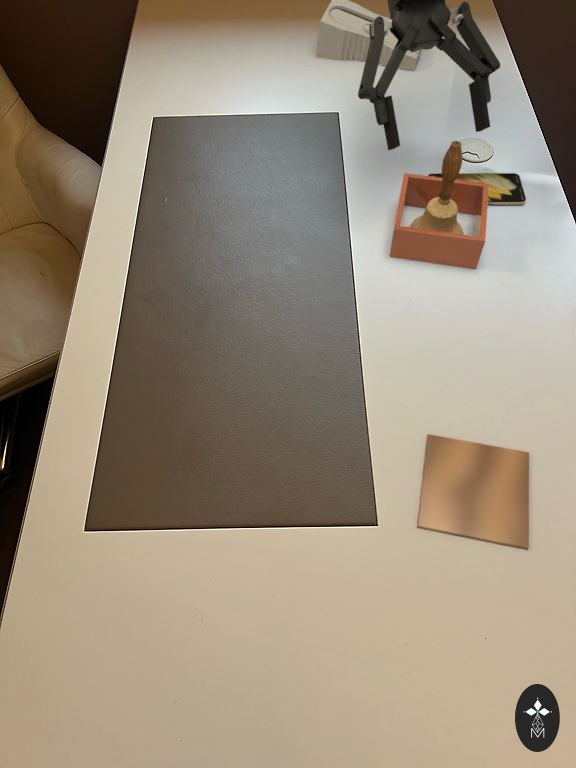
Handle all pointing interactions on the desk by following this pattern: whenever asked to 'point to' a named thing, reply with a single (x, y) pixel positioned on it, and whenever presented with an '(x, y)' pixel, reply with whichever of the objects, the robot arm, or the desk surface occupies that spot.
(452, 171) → the hand bell
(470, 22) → the robot arm
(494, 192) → the smartphone
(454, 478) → the copper plate
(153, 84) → the desk surface
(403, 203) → the open box
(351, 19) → the wedge sharpener
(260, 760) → the desk surface
